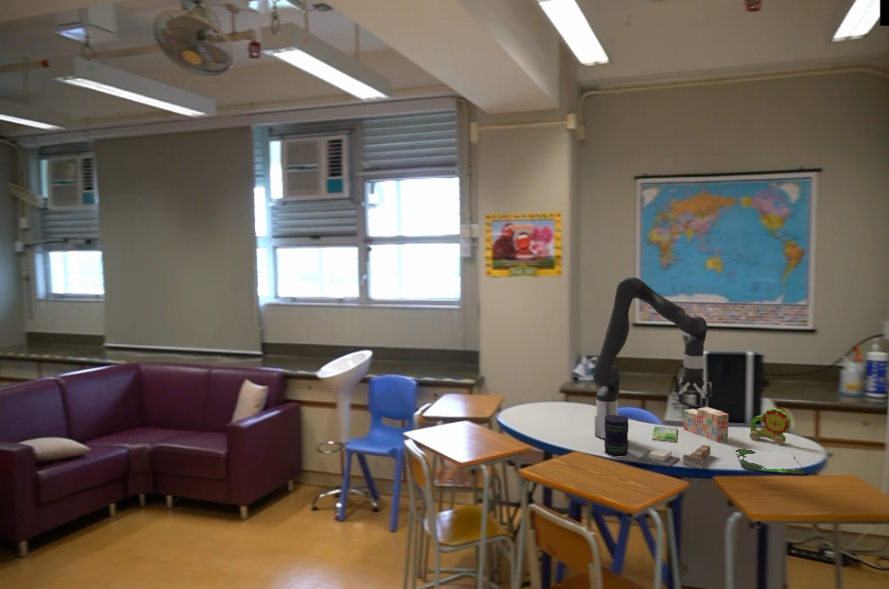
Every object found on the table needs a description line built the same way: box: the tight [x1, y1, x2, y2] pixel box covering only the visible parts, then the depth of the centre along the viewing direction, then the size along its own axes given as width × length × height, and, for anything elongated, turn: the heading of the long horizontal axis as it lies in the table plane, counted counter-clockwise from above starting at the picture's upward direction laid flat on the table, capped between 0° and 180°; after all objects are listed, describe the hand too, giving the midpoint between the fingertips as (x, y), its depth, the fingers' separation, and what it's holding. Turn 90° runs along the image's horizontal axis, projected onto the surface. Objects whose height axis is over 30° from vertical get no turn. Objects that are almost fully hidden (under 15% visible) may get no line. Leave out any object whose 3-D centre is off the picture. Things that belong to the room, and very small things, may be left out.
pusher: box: [682, 444, 711, 470], centre depth 246 cm, size 17×7×4 cm, turn 139°
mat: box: [637, 451, 680, 468], centre depth 248 cm, size 13×11×1 cm
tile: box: [649, 447, 673, 461], centre depth 249 cm, size 6×2×9 cm
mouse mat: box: [735, 448, 807, 476], centre depth 244 cm, size 27×22×1 cm
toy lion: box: [749, 407, 792, 446], centre depth 266 cm, size 16×6×15 cm, turn 44°
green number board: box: [651, 425, 678, 443], centre depth 280 cm, size 20×1×10 cm
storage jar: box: [603, 414, 630, 457], centre depth 257 cm, size 10×10×15 cm
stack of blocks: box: [683, 406, 729, 443], centre depth 278 cm, size 21×6×12 cm, turn 20°
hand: (692, 404), depth 248 cm, fingers open, 8 cm apart
